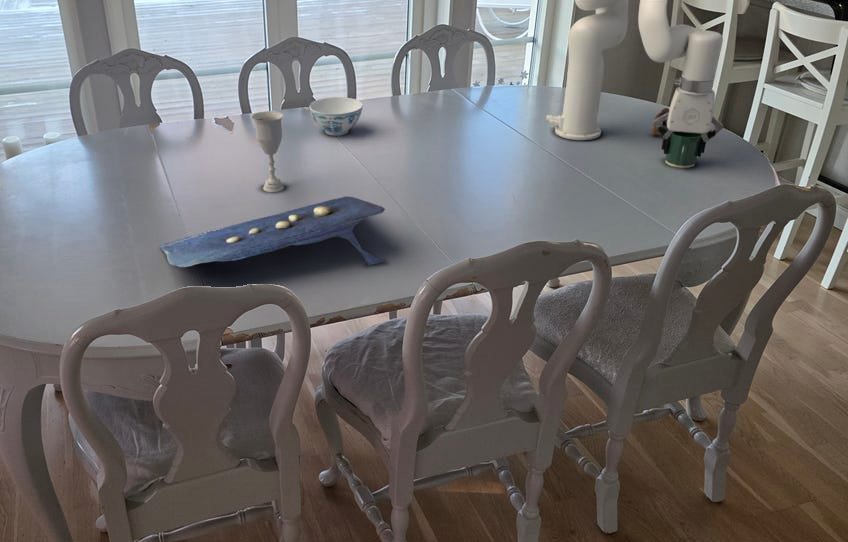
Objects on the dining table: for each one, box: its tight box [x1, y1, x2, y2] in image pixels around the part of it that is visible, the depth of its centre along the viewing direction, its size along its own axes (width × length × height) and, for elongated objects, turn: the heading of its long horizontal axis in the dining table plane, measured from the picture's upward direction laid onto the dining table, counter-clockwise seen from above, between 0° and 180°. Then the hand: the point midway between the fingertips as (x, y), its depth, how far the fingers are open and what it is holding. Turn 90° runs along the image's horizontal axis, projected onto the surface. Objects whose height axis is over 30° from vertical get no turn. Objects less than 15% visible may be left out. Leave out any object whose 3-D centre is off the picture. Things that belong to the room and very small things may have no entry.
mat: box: [158, 195, 386, 268], centre depth 163 cm, size 45×27×12 cm, turn 114°
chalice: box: [251, 110, 285, 193], centre depth 187 cm, size 7×7×18 cm
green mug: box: [665, 131, 702, 169], centre depth 198 cm, size 10×7×8 cm
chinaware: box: [309, 96, 364, 137], centre depth 223 cm, size 15×15×8 cm
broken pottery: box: [651, 107, 670, 137], centre depth 218 cm, size 12×10×8 cm
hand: (681, 153), depth 200 cm, fingers closed on green mug, 7 cm apart
